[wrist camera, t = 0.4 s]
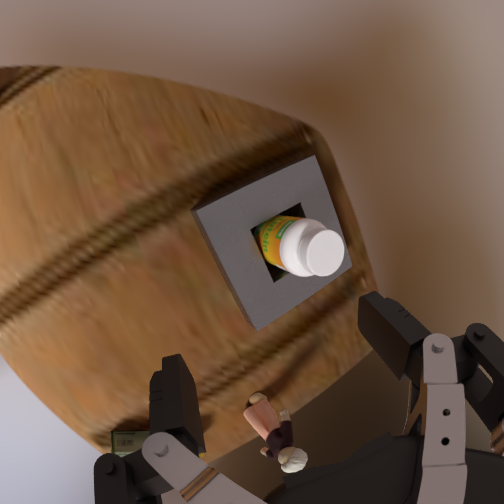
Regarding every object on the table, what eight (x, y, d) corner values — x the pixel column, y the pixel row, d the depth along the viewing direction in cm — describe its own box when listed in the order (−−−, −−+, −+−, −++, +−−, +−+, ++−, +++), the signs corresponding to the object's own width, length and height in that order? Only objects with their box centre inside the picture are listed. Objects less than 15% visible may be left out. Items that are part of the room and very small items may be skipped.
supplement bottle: (261, 207, 31) (312, 210, 22) (300, 224, 33) (357, 233, 24) (244, 254, 31) (290, 276, 22) (285, 267, 33) (338, 290, 24)
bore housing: (190, 210, 28) (196, 210, 25) (300, 158, 31) (314, 155, 29) (246, 321, 32) (256, 331, 29) (337, 261, 36) (352, 265, 33)
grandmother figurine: (245, 387, 34) (293, 452, 22) (271, 385, 35) (323, 443, 24) (237, 428, 35) (276, 491, 23) (261, 425, 36) (304, 483, 25)
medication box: (112, 442, 28) (114, 464, 24) (109, 430, 28) (109, 452, 24) (196, 438, 33) (204, 457, 29) (196, 425, 32) (204, 446, 29)
